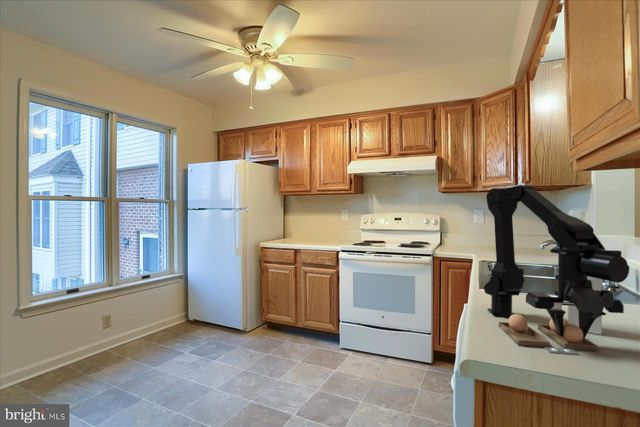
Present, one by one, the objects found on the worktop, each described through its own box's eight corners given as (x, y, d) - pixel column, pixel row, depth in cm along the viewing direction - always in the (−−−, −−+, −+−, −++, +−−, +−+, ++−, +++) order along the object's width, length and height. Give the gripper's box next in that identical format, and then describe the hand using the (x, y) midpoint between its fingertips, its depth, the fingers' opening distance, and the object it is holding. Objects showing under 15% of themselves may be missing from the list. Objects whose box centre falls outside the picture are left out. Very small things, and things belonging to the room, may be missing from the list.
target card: (544, 348, 76) (544, 346, 76) (572, 350, 75) (572, 348, 75) (549, 352, 74) (549, 351, 74) (578, 354, 73) (578, 353, 73)
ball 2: (545, 329, 87) (545, 313, 87) (563, 331, 86) (564, 314, 86) (554, 336, 82) (554, 319, 82) (573, 337, 82) (573, 320, 82)
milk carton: (568, 322, 94) (569, 257, 94) (600, 327, 90) (601, 260, 89) (567, 329, 89) (568, 260, 88) (601, 335, 84) (602, 263, 84)
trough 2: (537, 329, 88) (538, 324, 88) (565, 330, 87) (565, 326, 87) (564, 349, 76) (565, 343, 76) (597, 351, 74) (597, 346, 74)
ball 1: (505, 327, 89) (505, 311, 88) (523, 328, 88) (523, 312, 88) (512, 333, 84) (512, 316, 84) (530, 334, 83) (530, 317, 83)
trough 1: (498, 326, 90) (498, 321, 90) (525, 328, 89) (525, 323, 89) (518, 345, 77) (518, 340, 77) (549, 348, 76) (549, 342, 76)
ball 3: (556, 337, 81) (557, 320, 81) (576, 339, 81) (576, 321, 80) (566, 345, 77) (567, 326, 77) (587, 346, 76) (587, 328, 76)
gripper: (547, 278, 72) (546, 347, 72) (643, 282, 69) (642, 354, 69) (525, 269, 83) (524, 329, 83) (607, 272, 80) (606, 334, 80)
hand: (571, 336), depth 79 cm, fingers closed on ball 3, 4 cm apart
